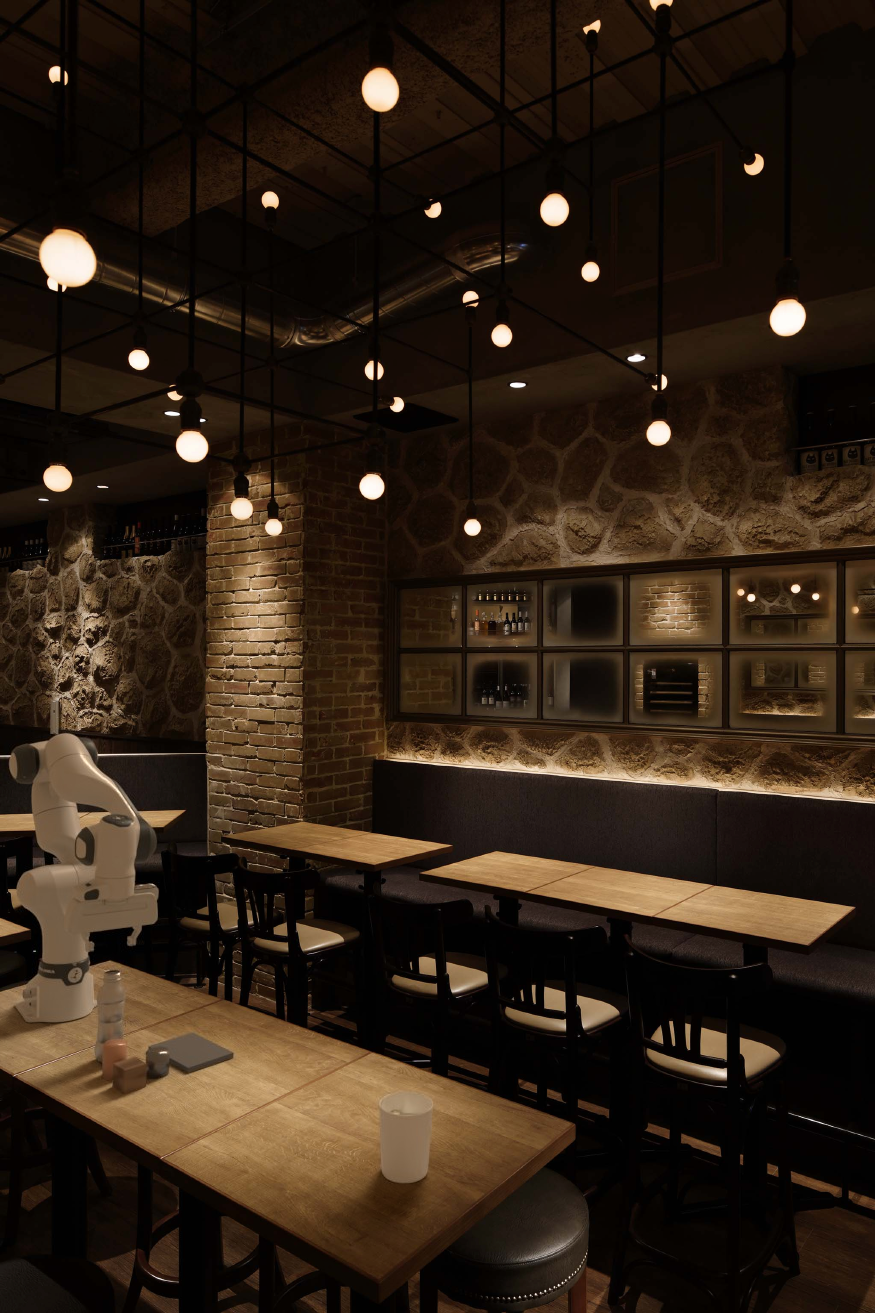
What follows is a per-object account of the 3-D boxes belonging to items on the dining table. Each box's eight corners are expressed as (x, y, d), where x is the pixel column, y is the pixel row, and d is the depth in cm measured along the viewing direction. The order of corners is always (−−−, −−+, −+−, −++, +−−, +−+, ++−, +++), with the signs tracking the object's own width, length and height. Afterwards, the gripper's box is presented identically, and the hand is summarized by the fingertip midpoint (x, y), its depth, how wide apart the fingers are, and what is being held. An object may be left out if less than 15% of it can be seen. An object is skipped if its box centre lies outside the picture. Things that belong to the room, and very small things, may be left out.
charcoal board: (148, 1051, 209) (148, 1046, 209) (192, 1037, 218) (193, 1032, 218) (188, 1073, 198) (188, 1068, 198) (233, 1057, 206) (233, 1052, 207)
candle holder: (376, 1157, 164) (378, 1091, 164) (429, 1156, 165) (431, 1090, 165) (377, 1187, 154) (379, 1116, 155) (433, 1186, 155) (435, 1115, 155)
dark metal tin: (141, 1074, 197) (141, 1051, 197) (161, 1067, 200) (162, 1045, 201) (152, 1081, 193) (153, 1058, 194) (173, 1074, 197) (173, 1051, 197)
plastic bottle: (129, 1055, 206) (132, 968, 207) (115, 1067, 200) (119, 977, 201) (102, 1053, 207) (105, 967, 208) (88, 1066, 200) (91, 976, 201)
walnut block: (112, 1087, 190) (113, 1063, 190) (133, 1080, 194) (134, 1056, 194) (124, 1094, 187) (125, 1070, 187) (145, 1087, 191) (146, 1063, 191)
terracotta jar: (97, 1075, 196) (98, 1043, 196) (119, 1068, 199) (120, 1037, 200) (108, 1082, 192) (110, 1049, 193) (130, 1075, 196) (131, 1043, 196)
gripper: (154, 879, 212) (150, 938, 212) (64, 888, 200) (60, 950, 199) (163, 885, 207) (160, 945, 207) (72, 895, 195) (68, 958, 194)
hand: (110, 948), depth 203 cm, fingers open, 8 cm apart
